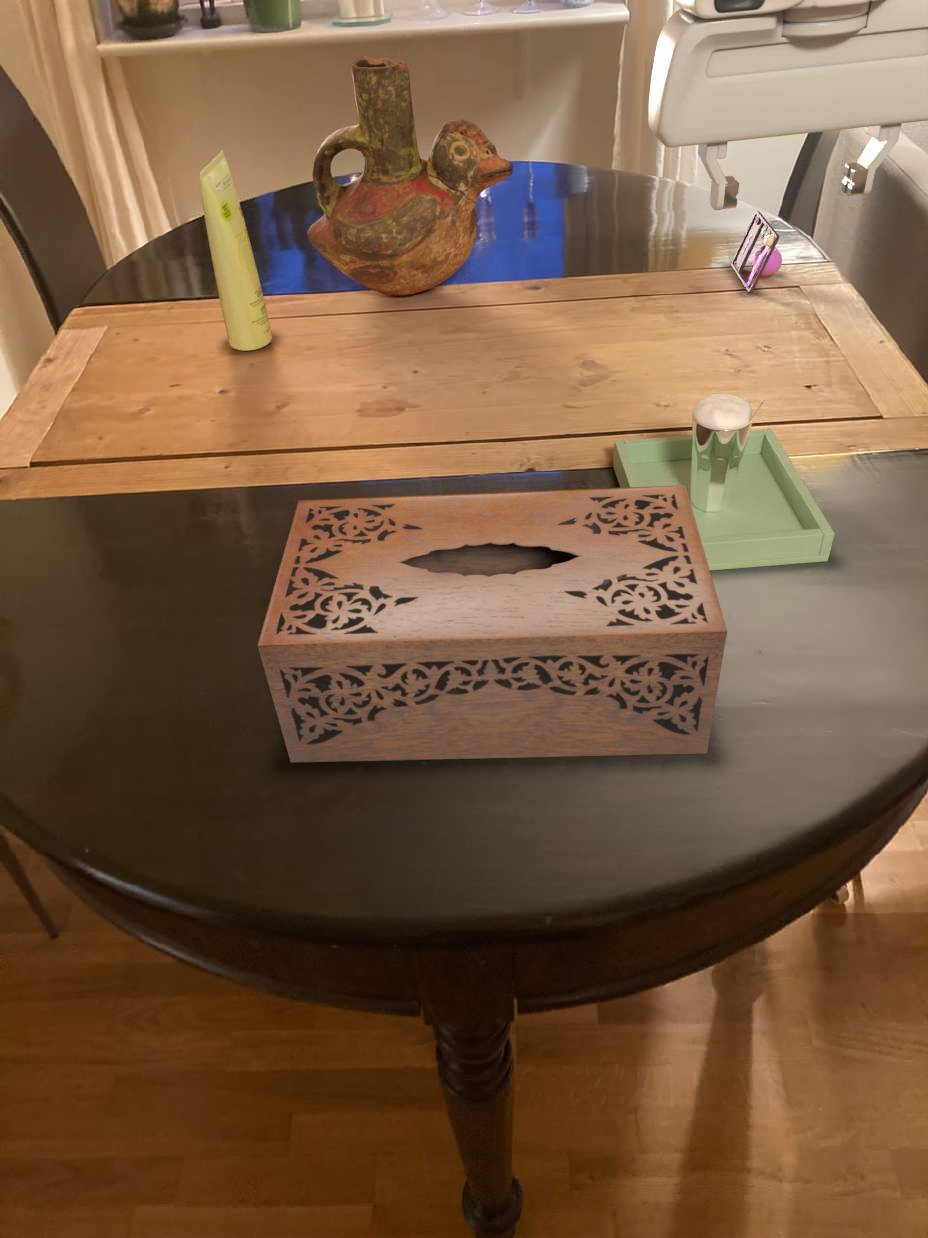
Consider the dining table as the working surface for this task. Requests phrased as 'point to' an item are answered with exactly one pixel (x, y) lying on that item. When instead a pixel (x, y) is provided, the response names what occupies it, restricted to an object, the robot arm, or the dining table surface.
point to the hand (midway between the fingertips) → (788, 199)
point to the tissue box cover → (494, 627)
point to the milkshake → (718, 449)
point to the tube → (233, 259)
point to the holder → (738, 501)
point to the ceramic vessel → (400, 189)
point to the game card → (758, 251)
